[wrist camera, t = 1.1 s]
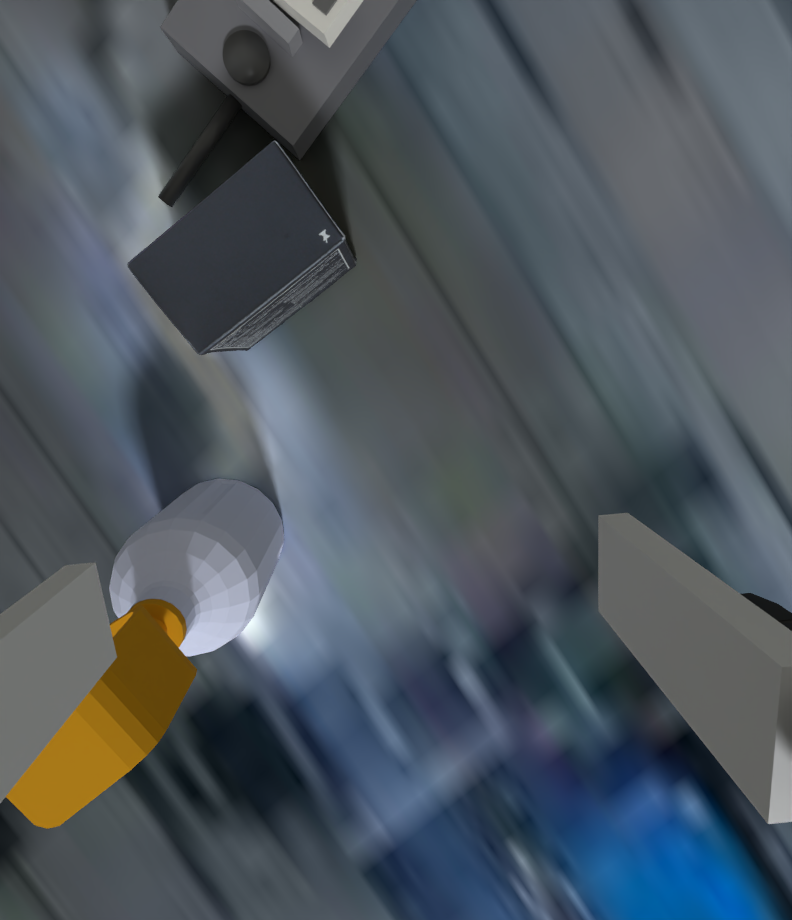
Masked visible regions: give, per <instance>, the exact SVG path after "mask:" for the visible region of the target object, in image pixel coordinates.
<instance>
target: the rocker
mask: <svg viewBox="0 0 792 920" xmlns="http://www.w3.org/2000/svg"><path fill="white" fill-rule="evenodd" d="M272 1H273V2H274V3H276V4H277V5H278V6H279V7H280V8H282V9H283V10H284V11H285V12H287V13H288V14H289V15H290V16H291V17H293V18H294V19H295V20H296V21H297V22H299V23H300V24H301V25H302V26H303V27H305V28H306V29H307V30H308V31H310V32H311V33H312V34H313V35H314V36H316V37H317V38H318V39H319V40H320V41H322V42H323V43H324V44H325V45H326V46H328V47H329V48H330V47H331V45H332V44H333V43H334V41H335V40H336V38H337V37H338V36H339V34H340V33H341V31H342V30H343V29H344V27H345V26H346V24H347V23H348V22H349V20H350V19H351V17H352V16H353V15H354V13H355V12H356V10H357V9H358V7H359V6H360V5H361V3H362V2H363V0H272Z"/></svg>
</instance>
